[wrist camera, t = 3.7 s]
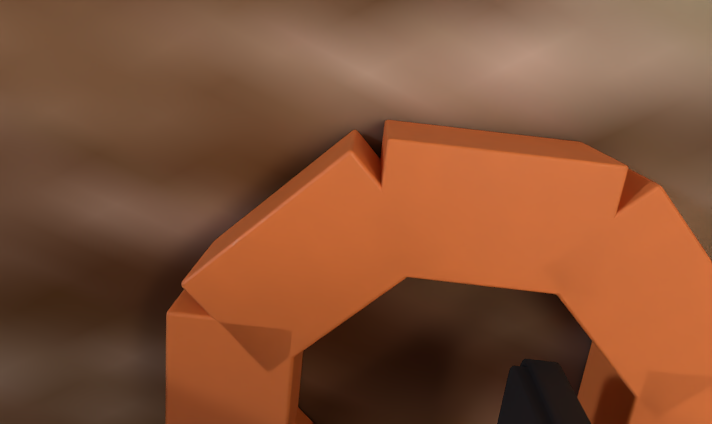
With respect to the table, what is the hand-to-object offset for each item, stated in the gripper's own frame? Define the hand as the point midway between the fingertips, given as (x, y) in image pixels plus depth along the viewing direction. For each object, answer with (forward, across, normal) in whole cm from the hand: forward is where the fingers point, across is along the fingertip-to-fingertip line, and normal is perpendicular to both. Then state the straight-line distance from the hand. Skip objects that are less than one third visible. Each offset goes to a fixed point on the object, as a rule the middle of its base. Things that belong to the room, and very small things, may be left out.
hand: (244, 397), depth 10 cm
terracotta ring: (+2, -4, 0) cm, 4 cm away
